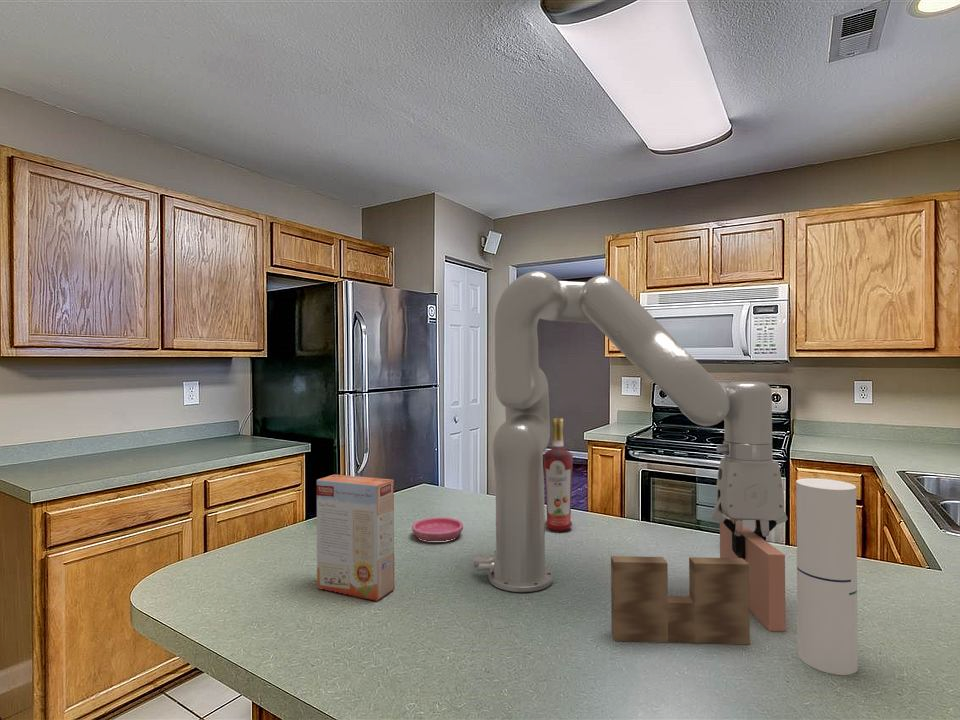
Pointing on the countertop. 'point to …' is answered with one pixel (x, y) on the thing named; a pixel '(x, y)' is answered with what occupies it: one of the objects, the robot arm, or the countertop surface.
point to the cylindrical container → (827, 575)
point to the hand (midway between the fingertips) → (749, 555)
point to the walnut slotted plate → (680, 601)
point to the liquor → (558, 481)
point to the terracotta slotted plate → (761, 577)
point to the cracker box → (355, 535)
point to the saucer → (437, 529)
